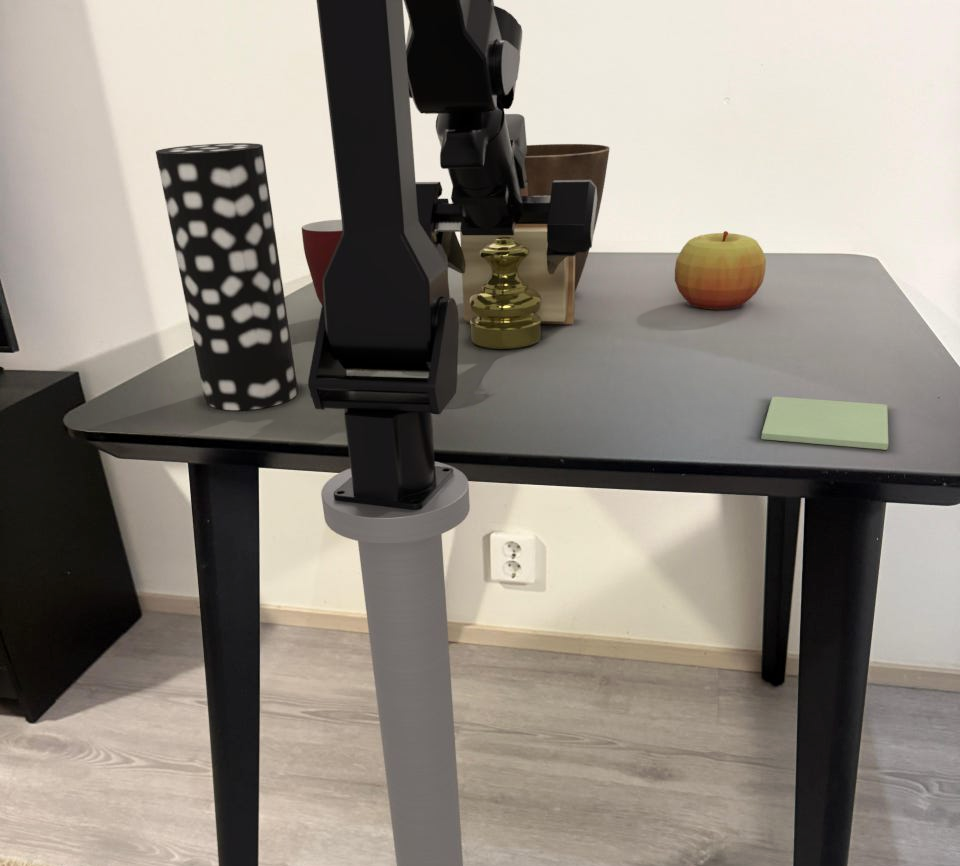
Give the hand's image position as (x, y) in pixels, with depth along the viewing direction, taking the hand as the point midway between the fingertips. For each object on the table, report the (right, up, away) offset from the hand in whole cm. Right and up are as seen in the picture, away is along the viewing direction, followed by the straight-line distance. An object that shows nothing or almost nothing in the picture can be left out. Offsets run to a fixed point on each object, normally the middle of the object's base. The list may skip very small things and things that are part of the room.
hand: (507, 269), depth 94 cm
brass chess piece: (0, -7, +3) cm, 7 cm away
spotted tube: (-24, -16, -10) cm, 30 cm away
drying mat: (+24, -21, -21) cm, 39 cm away
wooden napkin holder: (+1, -3, +8) cm, 8 cm away
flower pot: (+5, +4, +19) cm, 21 cm away
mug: (-17, -1, +13) cm, 21 cm away
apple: (+24, +1, +12) cm, 27 cm away
